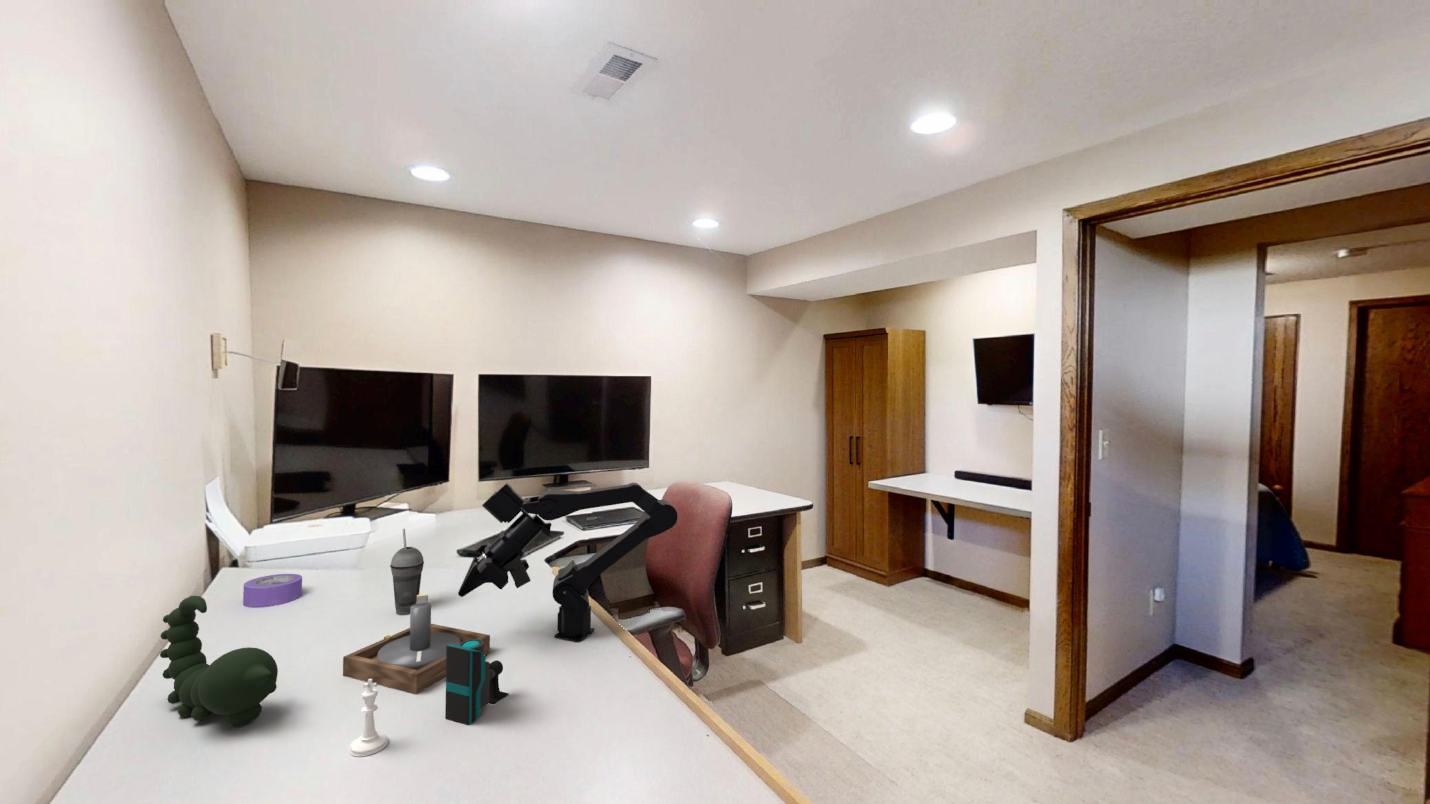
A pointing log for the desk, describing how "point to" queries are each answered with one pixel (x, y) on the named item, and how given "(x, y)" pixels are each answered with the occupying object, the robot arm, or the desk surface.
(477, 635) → the dial base
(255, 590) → the tape roll
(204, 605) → the toy figurine
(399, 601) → the beverage cup
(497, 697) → the surveillance camera
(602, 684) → the desk surface
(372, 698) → the chess piece
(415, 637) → the knob
